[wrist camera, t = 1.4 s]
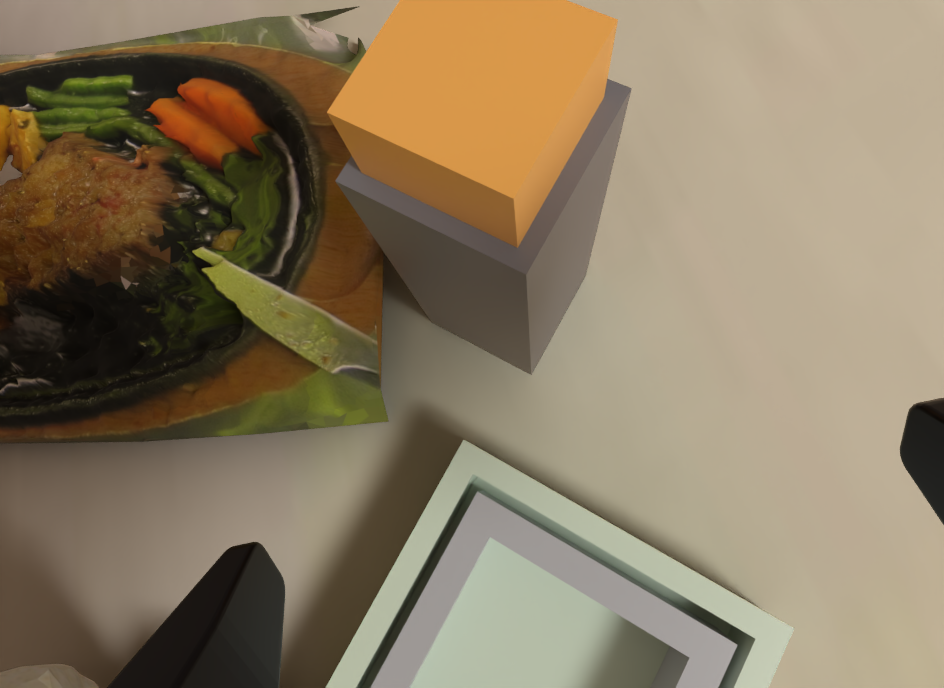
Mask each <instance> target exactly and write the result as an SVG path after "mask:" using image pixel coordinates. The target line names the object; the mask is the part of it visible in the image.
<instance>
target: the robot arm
mask: <svg viewBox="0 0 944 688" xmlns="http://www.w3.org/2000/svg"><path fill="white" fill-rule="evenodd" d="M900 456H901V459H902V462H903V464H904V466H905V468H906V470H907V471H908V473H909V474H910V476H911V477H912V479H913V480H914V481H915V483H916V484H917V486H918V487H919V489H920V490H921V492H922V493H923V495H924V496H925V498H926V499H927V501H928V502H929V504H930V505H931V507H932V508H933V510H934V511H935V513H936V514H937V516H938V517H939V519H940V520H941V522H942V523H943V525H944V398H939V399H934V400H930V401H925V402H920V403H916V404H914V405H913V406H912V407H911V408H910V409H909V412H908V415H907V419H906V424H905V428H904V432H903V437H902V441H901V445H900ZM284 603H285V585H284V580H283V577H282V575H281V573H280V572H279V570H278V569H277V567H276V566H275V564H274V562H273V561H272V559H271V558H270V556H269V554H268V553H267V551H266V550H265V548H264V547H263V546H262V545H261V544H260V543H258V542H251V543H247V544H242V545H237V546H233V547H231V548H229V549H228V550H226V551H225V552H224V553H223V554H222V556H221V557H220V558H219V559H218V560H217V561H216V563H215V564H214V565H213V566H212V567H211V568H210V569H209V571H208V572H207V573H206V574H205V575H204V576H203V578H202V579H201V580H200V581H199V582H198V583H197V584H196V586H195V587H194V588H193V589H192V590H191V591H190V593H189V594H188V595H187V596H186V597H185V598H184V599H183V601H182V602H181V603H180V604H179V605H178V606H177V608H176V609H175V610H174V611H173V612H172V613H171V615H170V616H169V617H168V618H167V619H166V620H165V621H164V623H163V624H162V625H161V626H160V627H159V628H158V630H157V631H156V632H155V633H154V634H153V635H152V636H151V638H150V639H149V640H148V641H147V642H146V643H145V645H144V646H143V647H142V648H141V649H140V650H139V651H138V653H137V654H136V655H135V656H134V657H133V658H132V660H131V661H130V662H129V663H128V664H127V665H126V666H125V668H124V669H123V670H122V671H121V672H120V673H119V675H118V676H117V677H116V678H115V679H114V680H113V681H112V683H111V684H110V685H109V686H108V687H107V688H279V680H280V665H281V649H282V634H283V619H284Z"/></svg>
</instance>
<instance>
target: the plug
mask: <svg viewBox="0 0 944 688" xmlns="http://www.w3.org/2000/svg"><path fill="white" fill-rule="evenodd" d="M617 22H618V20H617V19H614V18H612V17H609V16H606V15H604V14H601V13H598V12H596V11H593V10H590V9H588V8H585V7H582V6H580V5H577V4H574V3H572V2H569V1H566V0H400V1H399V3H398V4H397V6H396V7H395V9H394V10H393V12H392V13H391V15H390V17H389V18H388V20H387V21H386V23H385V24H384V26H383V27H382V29H381V30H380V32H379V33H378V35H377V36H376V38H375V39H374V41H373V42H372V44H371V45H370V47H369V49H368V50H367V52H366V53H365V55H364V56H363V58H362V59H361V61H360V62H359V64H358V65H357V67H356V68H355V70H354V71H353V73H352V74H351V76H350V78H349V79H348V81H347V82H346V84H345V85H344V87H343V88H342V90H341V91H340V93H339V94H338V96H337V97H336V99H335V100H334V102H333V103H332V105H331V106H330V108H329V110H328V111H327V114H328V115H329V117H330V119H331V121H332V122H333V124H334V126H335V127H336V129H337V131H338V133H339V134H340V136H341V138H342V140H343V141H344V143H345V145H346V147H347V148H348V150H349V152H350V153H351V155H352V156H351V157H350V159H349V160H348V162H347V163H346V165H345V167H344V168H343V170H342V171H341V173H340V174H339V176H338V177H337V179H336V183H337V184H338V186H339V187H340V189H341V190H342V192H343V193H344V195H345V196H346V197H347V199H348V200H349V202H350V203H351V205H352V206H353V208H354V209H355V211H356V212H357V214H358V215H359V217H360V218H361V219H362V221H363V222H364V224H365V225H366V227H367V228H368V230H369V231H370V233H371V234H372V236H373V237H374V239H375V240H376V241H377V243H378V244H379V246H380V247H381V249H382V250H383V252H384V253H385V255H386V256H387V258H388V259H389V260H390V262H391V263H392V265H393V266H394V268H395V269H396V271H397V272H398V274H399V275H400V277H401V278H402V280H403V281H404V282H405V284H406V285H407V287H408V288H409V290H410V291H411V293H412V294H413V296H414V297H415V299H416V300H417V302H418V303H419V304H420V306H421V307H422V309H423V310H424V312H425V313H426V315H427V316H428V318H429V319H430V321H431V322H433V323H435V324H436V325H438V326H440V327H442V328H444V329H446V330H448V331H450V332H452V333H453V334H455V335H457V336H459V337H461V338H463V339H465V340H467V341H469V342H470V343H472V344H474V345H476V346H478V347H480V348H482V349H484V350H485V351H487V352H489V353H491V354H493V355H495V356H497V357H499V358H501V359H502V360H504V361H506V362H508V363H510V364H512V365H514V366H516V367H518V368H519V369H521V370H523V371H525V372H527V373H529V374H531V375H532V373H533V371H534V369H535V367H536V366H537V364H538V362H539V360H540V358H541V356H542V355H543V353H544V351H545V349H546V347H547V345H548V344H549V342H550V340H551V338H552V336H553V335H554V333H555V331H556V329H557V327H558V325H559V324H560V322H561V320H562V318H563V316H564V314H565V313H566V311H567V309H568V307H569V305H570V303H571V302H572V300H573V298H574V296H575V294H576V292H577V291H578V289H579V287H580V285H581V283H582V282H583V280H584V278H585V276H586V272H587V268H588V264H589V260H590V256H591V252H592V248H593V244H594V240H595V236H596V232H597V228H598V223H599V219H600V215H601V211H602V207H603V203H604V199H605V195H606V191H607V187H608V183H609V179H610V174H611V170H612V166H613V162H614V158H615V154H616V150H617V146H618V142H619V138H620V134H621V130H622V125H623V121H624V117H625V113H626V109H627V105H628V101H629V97H630V93H631V89H632V88H629V87H627V86H624V85H622V84H619V83H617V82H614V81H612V80H609V79H607V78H608V72H609V66H610V61H611V55H612V50H613V44H614V38H615V33H616V27H617Z"/></svg>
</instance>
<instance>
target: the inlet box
mask: <svg viewBox="0 0 944 688" xmlns="http://www.w3.org/2000/svg"><path fill="white" fill-rule="evenodd" d="M793 630H794V628H793V627H791V626H789V625H788V624H786V623H784V622H783V621H781V620H779V619H777V618H776V617H774V616H772V615H771V614H769V613H767V612H766V611H764V610H762V609H760V608H759V607H757V606H755V605H753V604H752V603H750V602H748V601H746V600H745V599H743V598H741V597H739V596H738V595H736V594H734V593H732V592H731V591H729V590H727V589H725V588H724V587H722V586H720V585H718V584H717V583H715V582H713V581H711V580H710V579H708V578H706V577H704V576H703V575H701V574H699V573H697V572H696V571H694V570H692V569H690V568H689V567H687V566H685V565H683V564H682V563H680V562H678V561H676V560H675V559H673V558H671V557H669V556H668V555H666V554H664V553H662V552H661V551H659V550H657V549H655V548H654V547H652V546H650V545H648V544H647V543H645V542H643V541H641V540H640V539H638V538H636V537H634V536H633V535H631V534H629V533H627V532H626V531H624V530H622V529H620V528H619V527H617V526H615V525H613V524H612V523H610V522H608V521H606V520H605V519H603V518H601V517H599V516H598V515H596V514H594V513H592V512H591V511H589V510H587V509H585V508H584V507H582V506H580V505H578V504H577V503H575V502H573V501H571V500H570V499H568V498H566V497H564V496H563V495H561V494H559V493H557V492H556V491H554V490H552V489H550V488H549V487H547V486H545V485H543V484H542V483H540V482H538V481H536V480H535V479H533V478H531V477H529V476H528V475H526V474H524V473H522V472H521V471H519V470H517V469H515V468H514V467H512V466H510V465H508V464H507V463H505V462H503V461H501V460H500V459H498V458H496V457H494V456H493V455H491V454H489V453H487V452H486V451H484V450H482V449H480V448H479V447H477V446H475V445H473V444H472V443H470V442H468V441H466V440H463V442H462V443H461V445H460V447H459V449H458V451H457V452H456V454H455V456H454V458H453V460H452V461H451V463H450V465H449V467H448V469H447V470H446V472H445V474H444V476H443V478H442V479H441V481H440V483H439V485H438V486H437V488H436V490H435V492H434V494H433V495H432V497H431V499H430V501H429V503H428V504H427V506H426V508H425V510H424V512H423V513H422V515H421V517H420V519H419V521H418V522H417V524H416V526H415V528H414V530H413V531H412V533H411V535H410V537H409V539H408V540H407V542H406V544H405V546H404V548H403V549H402V551H401V553H400V555H399V557H398V558H397V560H396V562H395V564H394V566H393V567H392V569H391V571H390V573H389V575H388V576H387V578H386V580H385V582H384V584H383V585H382V587H381V589H380V591H379V593H378V594H377V596H376V598H375V600H374V601H373V603H372V605H371V607H370V609H369V610H368V612H367V614H366V616H365V618H364V619H363V621H362V623H361V625H360V627H359V628H358V630H357V632H356V634H355V636H354V637H353V639H352V641H351V643H350V645H349V646H348V648H347V650H346V652H345V654H344V655H343V657H342V659H341V661H340V663H339V664H338V666H337V668H336V670H335V672H334V673H333V675H332V677H331V679H330V681H329V682H328V684H327V686H326V688H768V687H769V685H770V683H771V680H772V678H773V676H774V674H775V671H776V669H777V667H778V664H779V662H780V660H781V658H782V655H783V653H784V651H785V649H786V646H787V644H788V642H789V639H790V637H791V635H792V633H793Z"/></svg>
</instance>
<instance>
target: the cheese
mask: <svg viewBox="0 0 944 688" xmlns="http://www.w3.org/2000/svg"><path fill="white" fill-rule="evenodd" d="M0 688H100V687H99V686H98V685H97V684H96V683H95V682H94V681H93V680H91V679H89V678H87V677H85V676H83V675H81V674H80V673H78V672H77V670H76V669H75V668H74V667H73V666H68V665H64V664H43V665H31V666H21V667H17V668H13V669H10V670H6V671H3V672H0Z"/></svg>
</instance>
